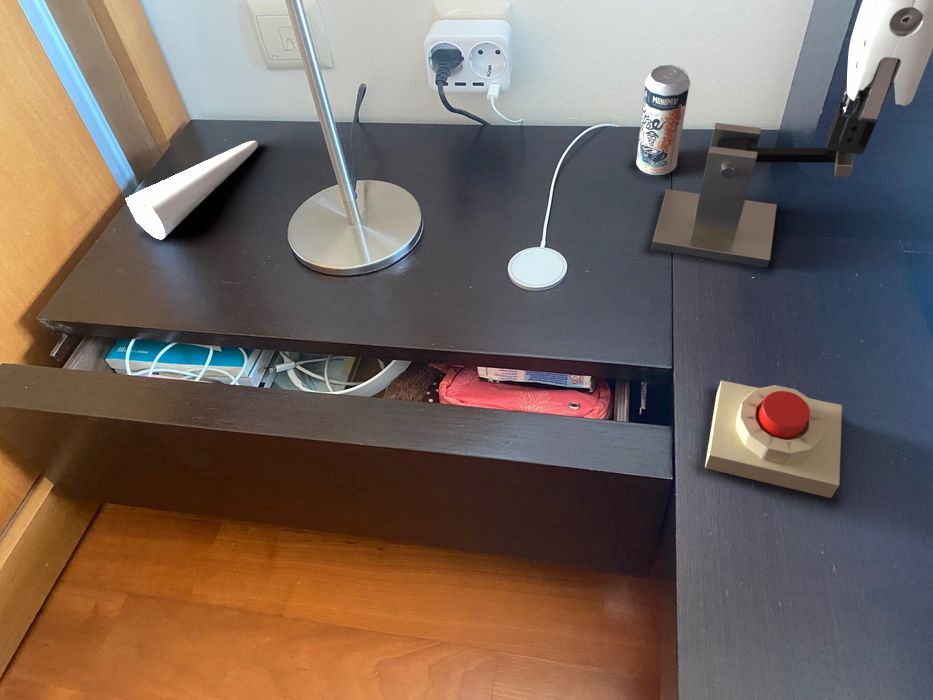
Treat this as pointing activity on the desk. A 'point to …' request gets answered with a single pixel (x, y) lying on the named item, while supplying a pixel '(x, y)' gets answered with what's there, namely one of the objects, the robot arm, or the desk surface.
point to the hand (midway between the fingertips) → (844, 146)
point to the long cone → (184, 191)
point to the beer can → (662, 119)
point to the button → (783, 414)
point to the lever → (795, 155)
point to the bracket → (720, 208)
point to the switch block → (775, 442)
